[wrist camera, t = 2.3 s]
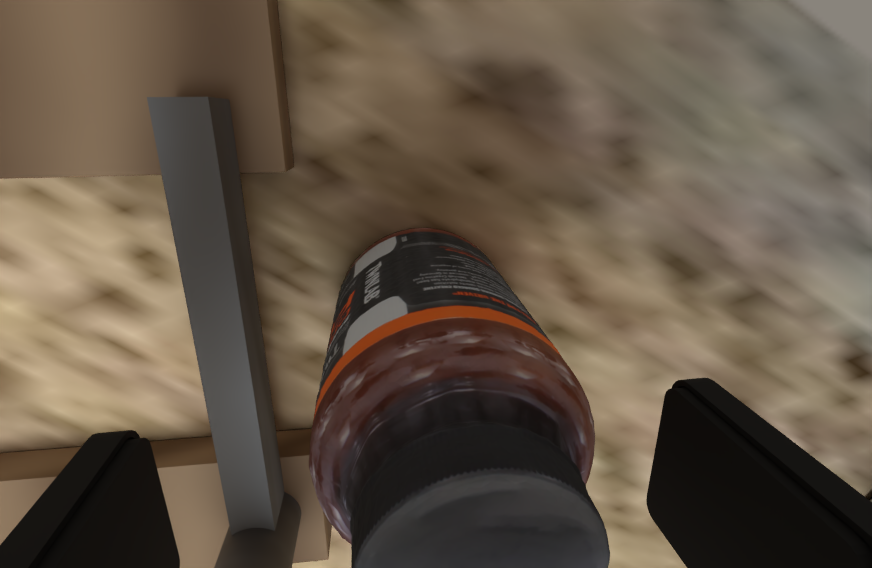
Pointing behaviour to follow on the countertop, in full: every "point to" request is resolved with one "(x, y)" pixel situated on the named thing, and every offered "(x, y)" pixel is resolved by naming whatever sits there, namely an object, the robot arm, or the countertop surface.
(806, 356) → the countertop surface
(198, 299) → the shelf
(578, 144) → the countertop surface
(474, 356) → the supplement bottle
